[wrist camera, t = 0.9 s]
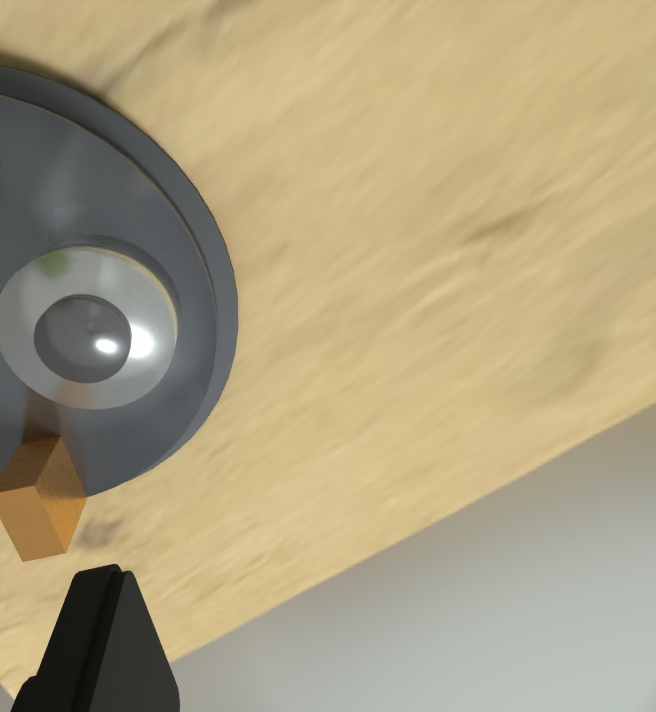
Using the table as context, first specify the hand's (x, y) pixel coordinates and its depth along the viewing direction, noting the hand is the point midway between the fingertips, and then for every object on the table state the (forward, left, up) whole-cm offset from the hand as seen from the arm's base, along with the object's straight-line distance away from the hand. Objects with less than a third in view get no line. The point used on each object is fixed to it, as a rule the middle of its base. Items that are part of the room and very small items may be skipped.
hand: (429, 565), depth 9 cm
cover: (+1, -10, -19) cm, 21 cm away
